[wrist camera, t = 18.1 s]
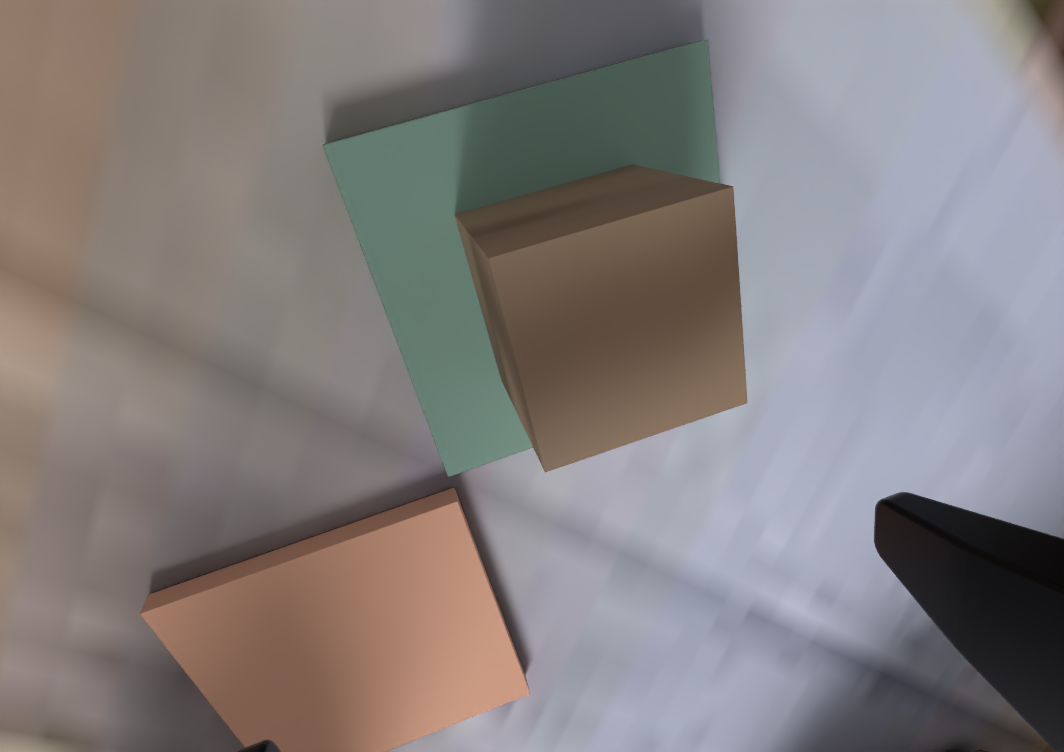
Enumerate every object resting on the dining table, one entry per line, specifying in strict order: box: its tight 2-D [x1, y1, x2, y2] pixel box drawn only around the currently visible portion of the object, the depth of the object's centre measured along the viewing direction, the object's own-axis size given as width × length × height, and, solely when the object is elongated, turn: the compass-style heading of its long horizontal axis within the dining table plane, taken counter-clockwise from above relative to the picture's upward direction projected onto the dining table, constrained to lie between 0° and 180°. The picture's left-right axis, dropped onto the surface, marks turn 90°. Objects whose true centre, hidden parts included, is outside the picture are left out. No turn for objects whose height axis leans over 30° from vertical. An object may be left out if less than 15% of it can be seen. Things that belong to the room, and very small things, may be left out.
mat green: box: [323, 40, 720, 477], centre depth 17 cm, size 10×10×1 cm
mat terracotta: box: [140, 488, 530, 752], centre depth 21 cm, size 10×10×1 cm
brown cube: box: [455, 164, 747, 472], centre depth 15 cm, size 5×5×5 cm
